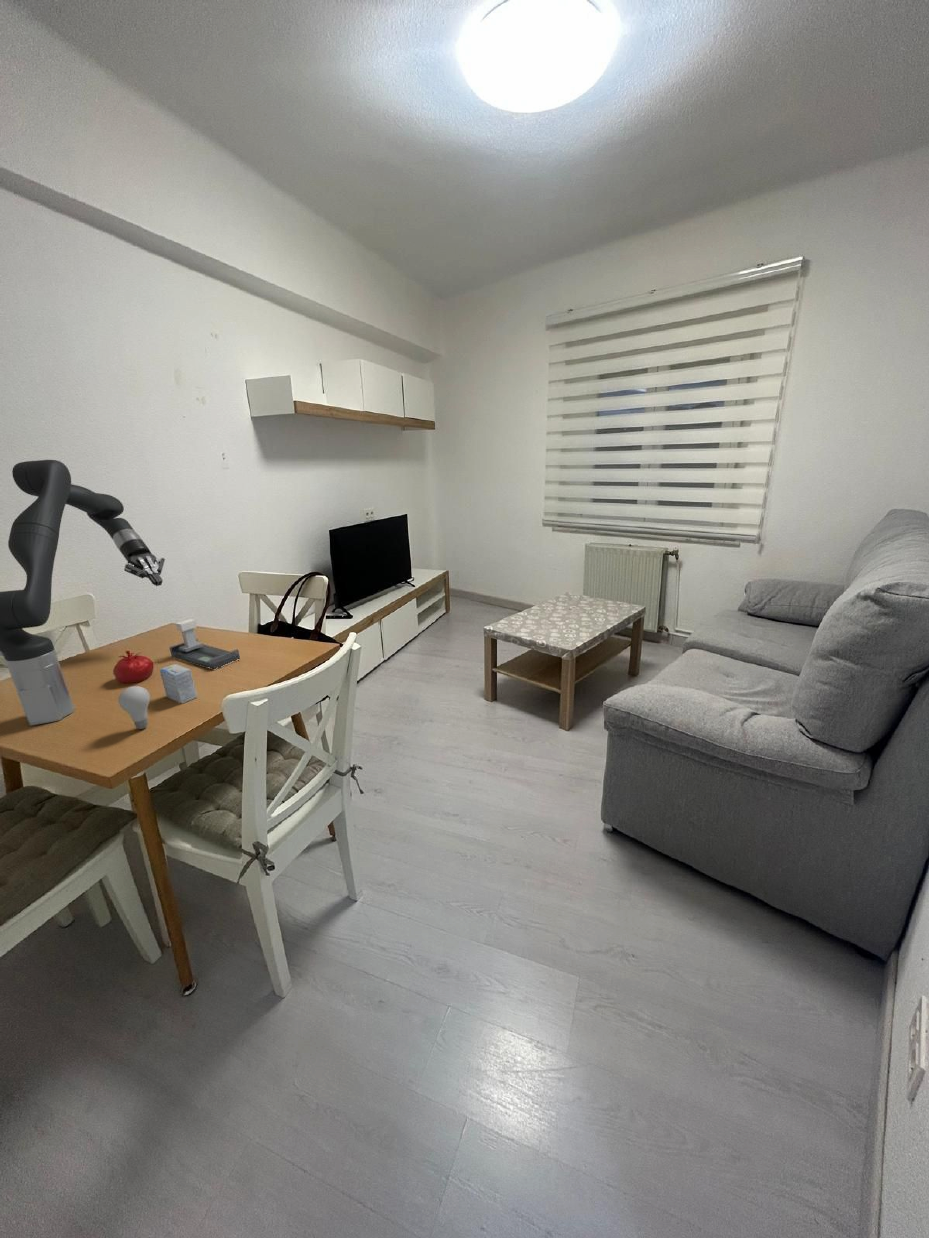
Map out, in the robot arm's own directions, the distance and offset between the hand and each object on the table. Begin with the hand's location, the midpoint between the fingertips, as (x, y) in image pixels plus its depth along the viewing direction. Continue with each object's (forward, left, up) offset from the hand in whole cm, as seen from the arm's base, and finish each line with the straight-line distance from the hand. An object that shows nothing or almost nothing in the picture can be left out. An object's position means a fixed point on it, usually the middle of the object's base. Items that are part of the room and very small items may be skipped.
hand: (159, 584), depth 156 cm
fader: (-9, -6, -21) cm, 24 cm away
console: (-15, -10, -24) cm, 30 cm away
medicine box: (-44, -6, -24) cm, 50 cm away
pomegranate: (-23, +8, -24) cm, 34 cm away
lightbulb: (-58, +1, -24) cm, 62 cm away
